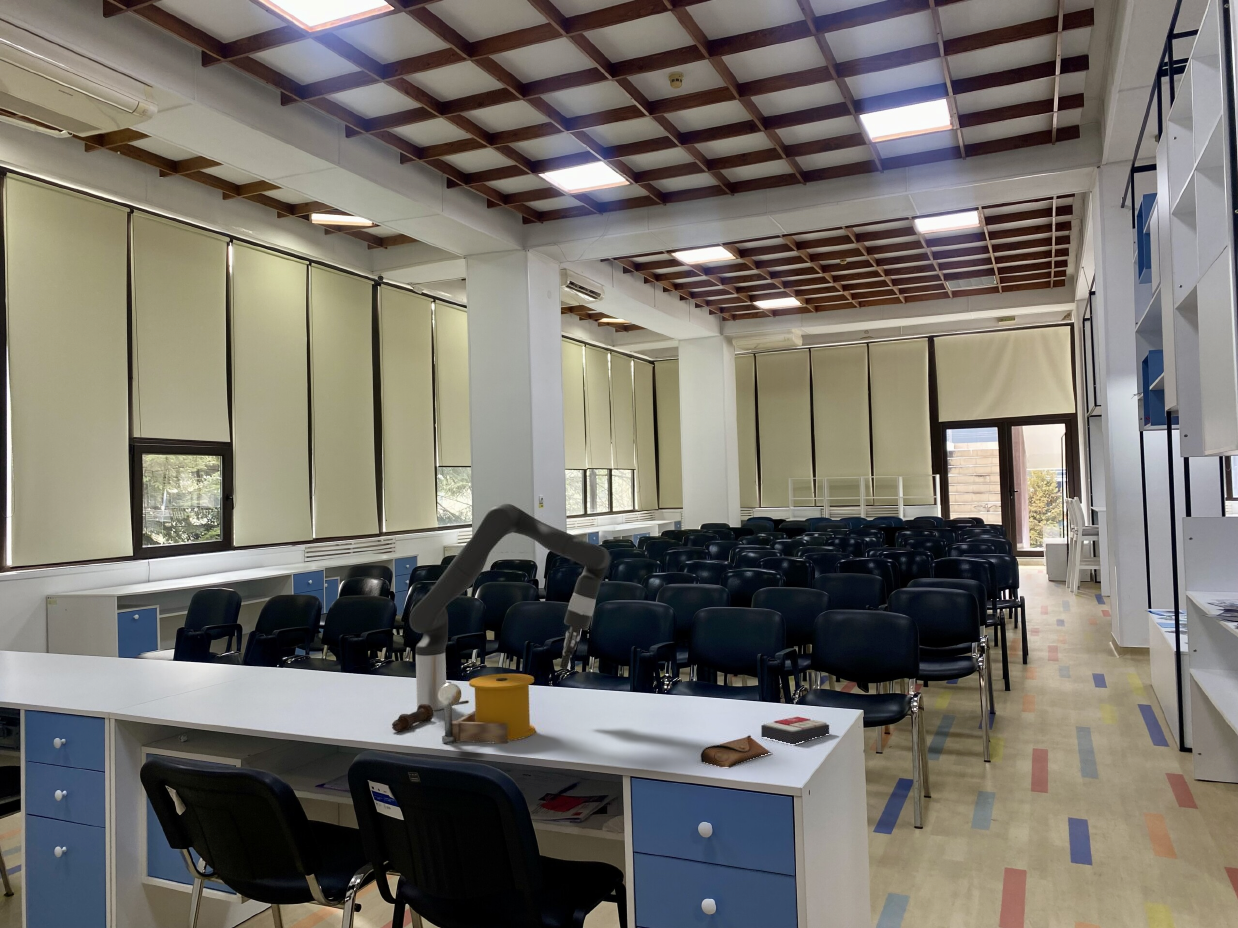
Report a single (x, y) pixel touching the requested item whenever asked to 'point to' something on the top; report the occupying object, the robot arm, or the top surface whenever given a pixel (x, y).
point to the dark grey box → (794, 729)
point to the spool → (504, 702)
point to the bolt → (413, 718)
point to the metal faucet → (449, 707)
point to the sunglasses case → (733, 752)
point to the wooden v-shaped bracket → (478, 730)
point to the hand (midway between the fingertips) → (563, 668)
